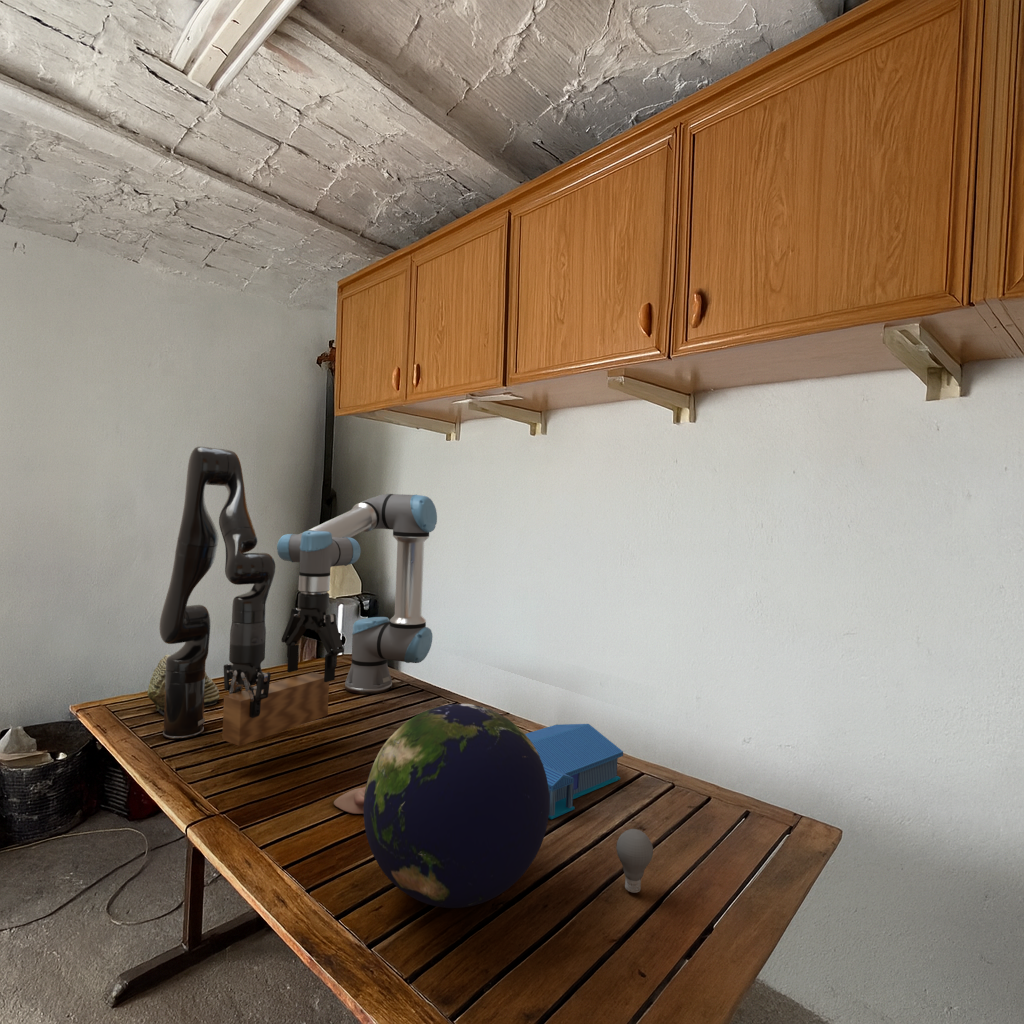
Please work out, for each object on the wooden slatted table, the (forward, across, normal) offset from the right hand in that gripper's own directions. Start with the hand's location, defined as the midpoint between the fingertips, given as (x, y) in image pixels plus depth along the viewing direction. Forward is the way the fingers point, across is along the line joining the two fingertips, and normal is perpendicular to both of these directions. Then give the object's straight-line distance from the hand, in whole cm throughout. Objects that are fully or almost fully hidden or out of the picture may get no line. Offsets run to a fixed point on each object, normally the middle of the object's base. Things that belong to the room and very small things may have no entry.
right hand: (310, 675), depth 160 cm
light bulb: (+18, -90, +9) cm, 92 cm away
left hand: (+5, 0, +18) cm, 19 cm away
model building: (+18, -58, -14) cm, 62 cm away
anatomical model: (+18, -33, +12) cm, 40 cm away
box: (+10, 0, +9) cm, 14 cm away
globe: (+18, -66, +26) cm, 73 cm away
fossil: (+18, +50, +2) cm, 54 cm away
